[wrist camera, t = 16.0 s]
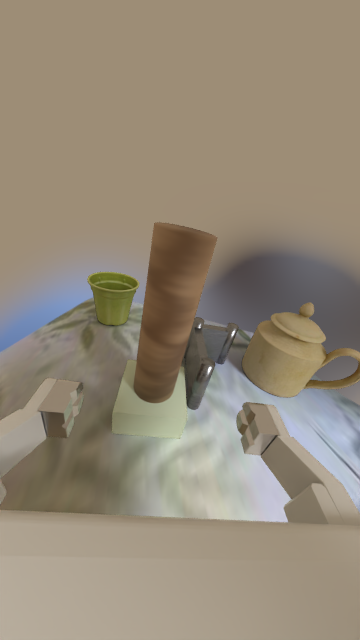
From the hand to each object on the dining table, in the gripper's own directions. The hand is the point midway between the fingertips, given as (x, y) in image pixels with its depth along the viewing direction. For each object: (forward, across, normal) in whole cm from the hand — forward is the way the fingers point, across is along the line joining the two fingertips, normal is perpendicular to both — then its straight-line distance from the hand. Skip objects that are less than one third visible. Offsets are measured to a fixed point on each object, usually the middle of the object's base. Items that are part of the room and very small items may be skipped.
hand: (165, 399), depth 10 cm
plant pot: (+30, +10, +16) cm, 36 cm away
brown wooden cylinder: (+10, 0, +11) cm, 15 cm away
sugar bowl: (+20, -23, +15) cm, 34 cm away
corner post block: (+16, -9, +15) cm, 24 cm away
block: (+10, 0, +15) cm, 18 cm away
